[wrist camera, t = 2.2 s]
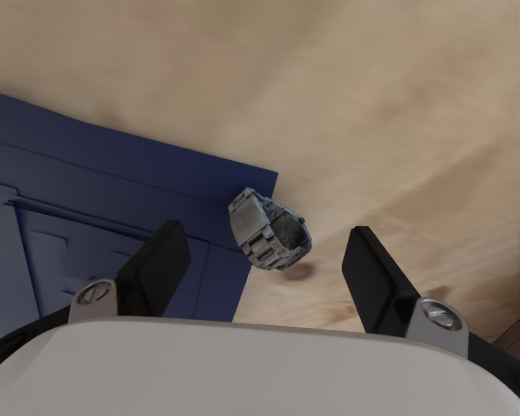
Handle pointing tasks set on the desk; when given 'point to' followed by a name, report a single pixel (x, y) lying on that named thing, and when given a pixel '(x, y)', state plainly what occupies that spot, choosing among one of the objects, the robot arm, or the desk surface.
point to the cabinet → (510, 341)
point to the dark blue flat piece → (110, 214)
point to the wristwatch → (268, 231)
